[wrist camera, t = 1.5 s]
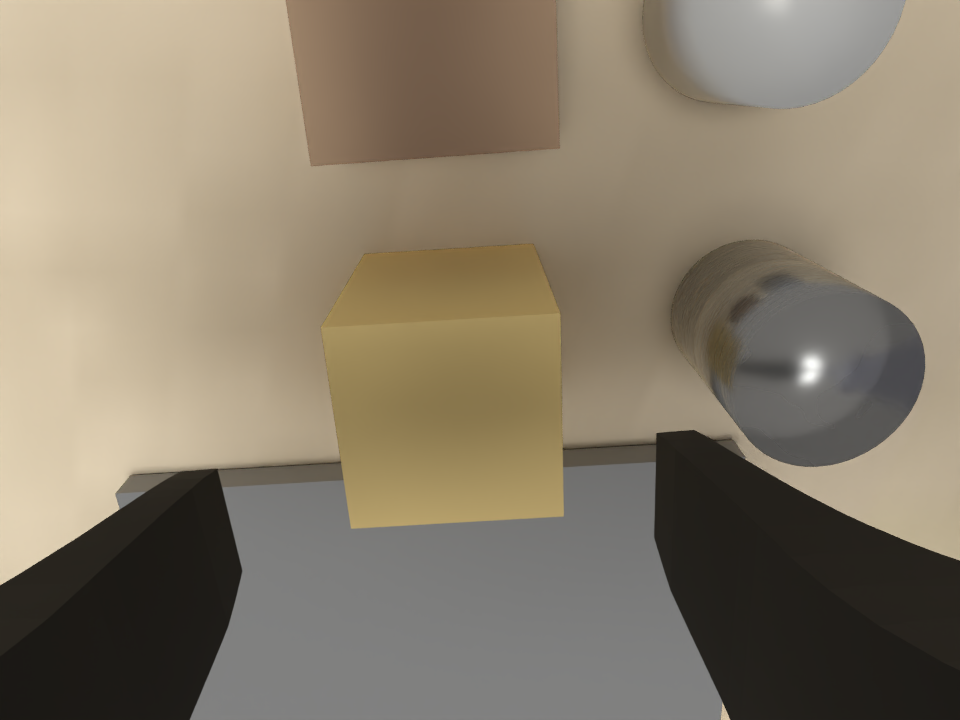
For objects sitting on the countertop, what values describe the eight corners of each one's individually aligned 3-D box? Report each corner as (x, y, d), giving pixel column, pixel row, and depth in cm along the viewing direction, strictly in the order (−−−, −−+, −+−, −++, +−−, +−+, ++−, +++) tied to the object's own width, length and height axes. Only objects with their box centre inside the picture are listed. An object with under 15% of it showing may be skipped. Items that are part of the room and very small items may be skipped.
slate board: (732, 439, 21) (745, 456, 20) (707, 734, 25) (716, 759, 25) (130, 474, 21) (115, 493, 20) (211, 762, 26) (201, 787, 25)
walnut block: (532, -97, 16) (552, -150, 12) (540, 133, 18) (559, 148, 14) (312, -82, 16) (266, -129, 12) (343, 147, 18) (310, 166, 14)
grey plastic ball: (821, -91, 16) (927, -142, 12) (801, 97, 17) (890, 102, 14) (644, -79, 16) (697, -128, 12) (639, 107, 18) (686, 115, 14)
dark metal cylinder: (824, 235, 19) (941, 287, 14) (807, 373, 20) (907, 461, 16) (674, 244, 19) (741, 299, 14) (667, 381, 20) (727, 471, 16)
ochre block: (533, 243, 19) (560, 313, 13) (537, 396, 20) (563, 516, 15) (364, 253, 19) (320, 328, 13) (383, 406, 20) (351, 528, 15)
